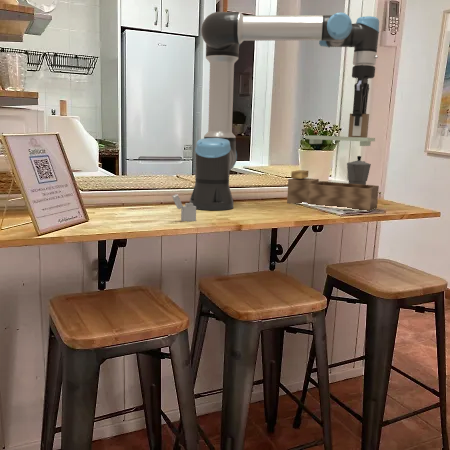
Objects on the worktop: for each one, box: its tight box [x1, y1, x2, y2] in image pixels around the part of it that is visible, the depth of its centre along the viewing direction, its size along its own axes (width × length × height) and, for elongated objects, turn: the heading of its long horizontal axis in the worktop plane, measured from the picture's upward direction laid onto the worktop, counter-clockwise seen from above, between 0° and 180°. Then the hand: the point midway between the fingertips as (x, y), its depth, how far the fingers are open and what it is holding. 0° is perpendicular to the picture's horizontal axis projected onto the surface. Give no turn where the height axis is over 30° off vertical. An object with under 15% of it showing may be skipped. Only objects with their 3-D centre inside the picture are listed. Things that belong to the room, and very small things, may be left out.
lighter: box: [171, 193, 197, 222], centre depth 148 cm, size 7×2×8 cm, turn 116°
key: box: [290, 169, 309, 179], centre depth 192 cm, size 4×8×2 cm, turn 153°
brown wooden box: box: [286, 177, 380, 212], centre depth 187 cm, size 31×14×9 cm, turn 63°
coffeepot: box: [346, 155, 371, 185], centre depth 201 cm, size 15×9×18 cm, turn 149°
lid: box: [304, 113, 376, 147], centre depth 179 cm, size 22×14×11 cm, turn 64°
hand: (357, 135), depth 177 cm, fingers closed on lid, 3 cm apart
